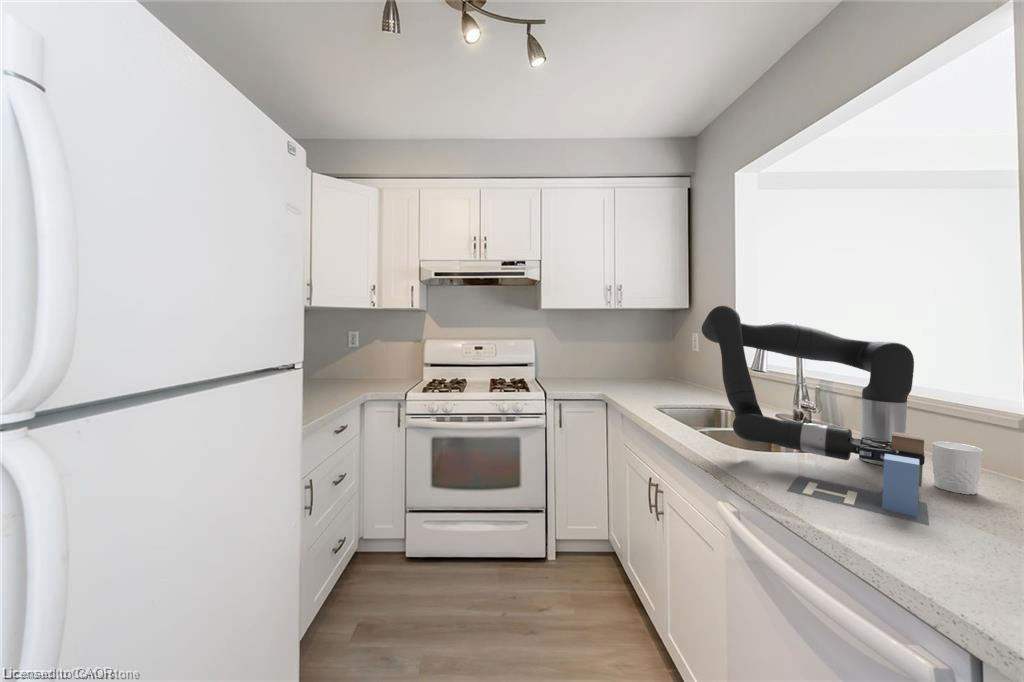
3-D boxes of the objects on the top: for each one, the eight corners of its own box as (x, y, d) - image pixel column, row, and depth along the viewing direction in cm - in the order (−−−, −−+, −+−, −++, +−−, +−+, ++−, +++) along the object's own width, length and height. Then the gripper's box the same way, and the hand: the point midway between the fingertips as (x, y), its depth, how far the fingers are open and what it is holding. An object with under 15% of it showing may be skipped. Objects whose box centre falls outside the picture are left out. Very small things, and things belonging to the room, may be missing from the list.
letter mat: (798, 477, 100) (798, 475, 100) (926, 505, 84) (926, 502, 84) (786, 493, 90) (786, 490, 90) (929, 528, 74) (929, 525, 74)
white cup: (939, 491, 92) (941, 447, 92) (924, 480, 99) (926, 439, 99) (989, 498, 88) (991, 453, 88) (969, 486, 95) (971, 444, 95)
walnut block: (890, 474, 93) (892, 431, 93) (920, 480, 90) (923, 436, 90) (889, 480, 90) (892, 435, 90) (921, 486, 86) (924, 440, 86)
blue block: (883, 501, 85) (885, 453, 85) (916, 508, 81) (919, 459, 81) (882, 508, 81) (884, 458, 81) (917, 516, 78) (919, 464, 78)
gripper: (821, 430, 94) (926, 446, 83) (830, 421, 105) (924, 434, 93) (820, 462, 95) (924, 483, 83) (828, 449, 105) (922, 466, 93)
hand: (923, 457), depth 88 cm, fingers closed on walnut block, 5 cm apart
